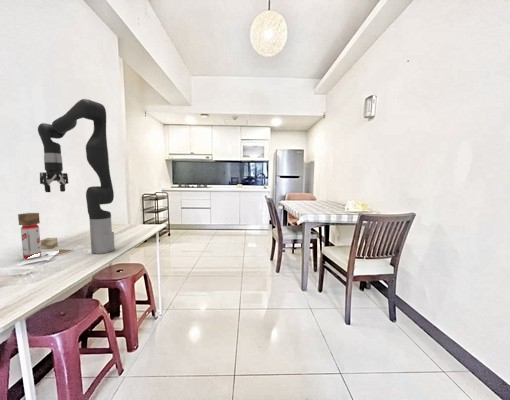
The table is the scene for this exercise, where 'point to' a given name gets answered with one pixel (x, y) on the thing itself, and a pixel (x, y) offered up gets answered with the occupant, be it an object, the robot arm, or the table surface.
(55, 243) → the maple cube
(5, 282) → the table surface
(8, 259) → the table surface
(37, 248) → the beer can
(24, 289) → the table surface
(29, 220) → the walnut cube
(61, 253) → the tile
